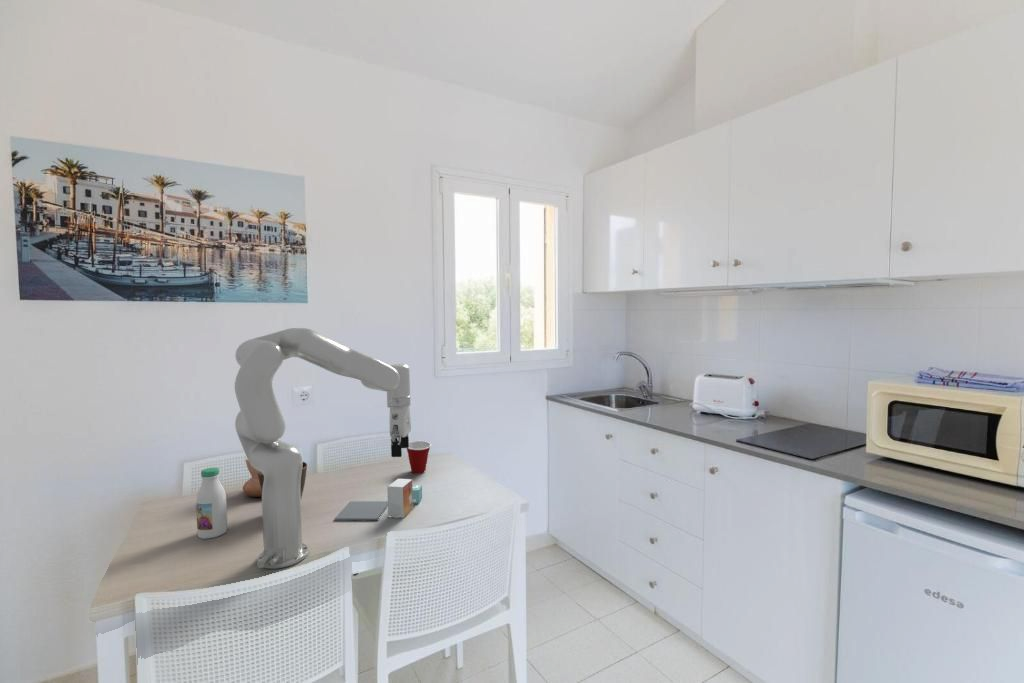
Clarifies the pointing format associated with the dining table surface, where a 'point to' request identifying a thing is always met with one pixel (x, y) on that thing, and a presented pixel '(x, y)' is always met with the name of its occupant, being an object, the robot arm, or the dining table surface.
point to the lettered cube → (417, 493)
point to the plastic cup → (418, 455)
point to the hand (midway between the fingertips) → (400, 452)
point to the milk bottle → (211, 505)
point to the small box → (400, 498)
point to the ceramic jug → (252, 483)
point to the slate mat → (362, 510)
